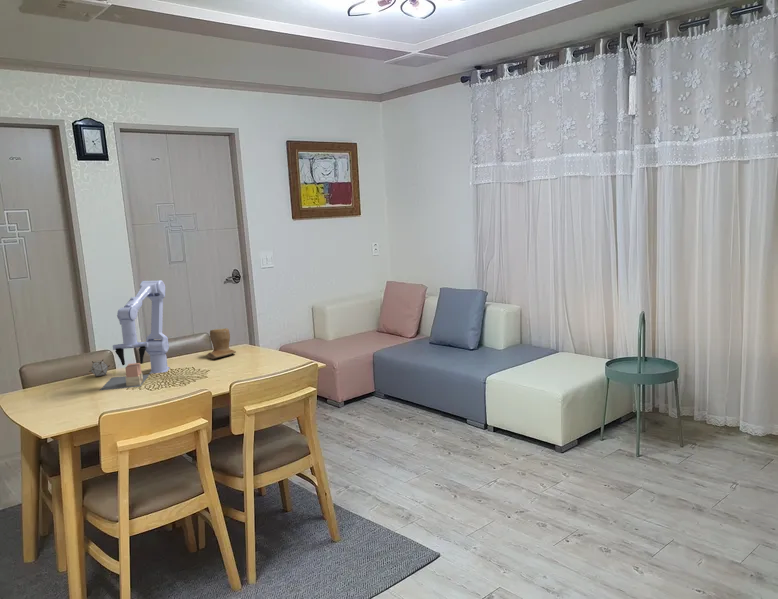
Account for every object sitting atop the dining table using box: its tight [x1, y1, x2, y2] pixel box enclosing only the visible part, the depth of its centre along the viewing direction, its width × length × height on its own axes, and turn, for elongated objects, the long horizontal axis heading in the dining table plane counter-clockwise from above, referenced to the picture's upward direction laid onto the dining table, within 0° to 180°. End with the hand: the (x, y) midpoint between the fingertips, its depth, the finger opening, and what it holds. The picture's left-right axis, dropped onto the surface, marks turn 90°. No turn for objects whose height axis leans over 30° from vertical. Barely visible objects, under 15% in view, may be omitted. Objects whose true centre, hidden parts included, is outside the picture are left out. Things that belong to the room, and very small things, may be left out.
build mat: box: [98, 373, 151, 391], centre depth 277 cm, size 22×17×1 cm
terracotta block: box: [124, 362, 142, 378], centre depth 272 cm, size 7×5×4 cm
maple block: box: [126, 372, 144, 386], centre depth 272 cm, size 7×6×4 cm
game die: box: [88, 359, 111, 378], centre depth 290 cm, size 9×8×10 cm
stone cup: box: [207, 327, 237, 360], centre depth 320 cm, size 15×12×15 cm
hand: (132, 364), depth 272 cm, fingers open, 7 cm apart
